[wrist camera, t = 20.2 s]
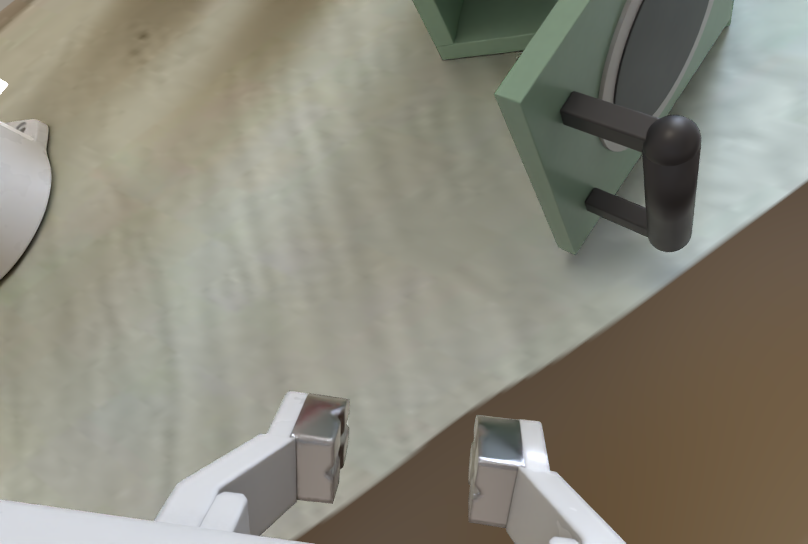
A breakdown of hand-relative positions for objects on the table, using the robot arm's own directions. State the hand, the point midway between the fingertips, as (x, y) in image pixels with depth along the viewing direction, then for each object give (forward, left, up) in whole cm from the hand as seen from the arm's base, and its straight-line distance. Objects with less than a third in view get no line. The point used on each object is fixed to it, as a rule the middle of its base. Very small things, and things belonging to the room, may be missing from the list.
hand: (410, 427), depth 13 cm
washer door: (+3, +15, -11) cm, 19 cm away
